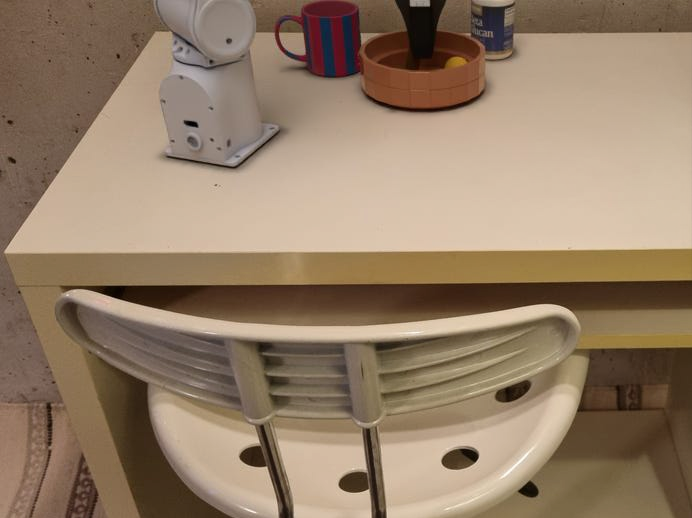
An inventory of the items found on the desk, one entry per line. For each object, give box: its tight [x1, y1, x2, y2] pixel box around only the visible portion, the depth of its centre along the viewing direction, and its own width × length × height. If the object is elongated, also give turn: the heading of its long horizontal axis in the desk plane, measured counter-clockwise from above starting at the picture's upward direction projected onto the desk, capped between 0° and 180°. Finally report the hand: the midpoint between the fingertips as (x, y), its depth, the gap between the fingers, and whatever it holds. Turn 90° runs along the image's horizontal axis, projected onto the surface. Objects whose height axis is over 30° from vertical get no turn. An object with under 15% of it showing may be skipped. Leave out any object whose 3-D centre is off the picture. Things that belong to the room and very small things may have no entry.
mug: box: [274, 0, 362, 78], centre depth 101 cm, size 7×10×7 cm
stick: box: [396, 43, 421, 70], centre depth 95 cm, size 4×4×9 cm
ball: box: [444, 57, 468, 69], centre depth 97 cm, size 3×3×3 cm
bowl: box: [359, 28, 486, 110], centre depth 97 cm, size 14×14×4 cm
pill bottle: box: [470, 0, 516, 61], centre depth 104 cm, size 5×5×10 cm
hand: (422, 54), depth 96 cm, fingers closed on stick
